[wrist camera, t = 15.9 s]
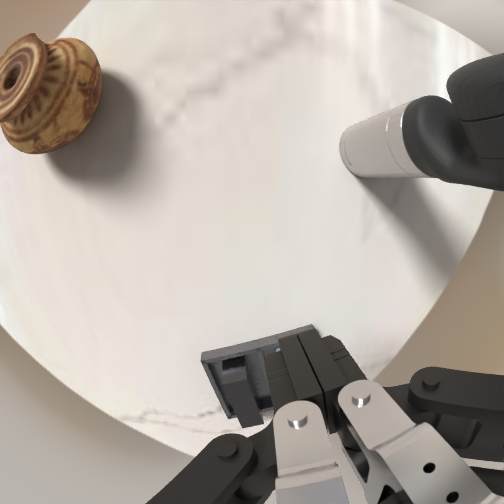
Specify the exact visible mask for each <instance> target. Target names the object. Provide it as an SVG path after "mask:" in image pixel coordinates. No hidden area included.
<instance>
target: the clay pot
mask: <svg viewBox="0 0 504 504" xmlns="http://www.w3.org/2000/svg"><path fill="white" fill-rule="evenodd" d="M101 92H102V74H101V68H100V65H99V62H98V60H97V57H96V55H95V53H94V52H93V50H92V49H91V48H90V47H89V46H88V45H87V44H86V43H84V42H83V41H81V40H79V39H75V38H59V39H55V40H52V41H50V42H47V43H44V42H42V41H41V40H40V39H39V38H38V37H37V36H36V34H34V33H30V34H28V35H26V36H24V37H22V38H20V39H19V40H17V41H16V42H15V43H13V44H12V45H11V46H10V47H9V48H8V49H7V51H6V52H5V53H4V54H3V56H2V57H1V58H0V123H1V128H2V131H3V134H4V136H5V138H6V139H7V141H8V142H9V143H10V144H11V145H12V146H13V147H14V148H16V149H18V150H19V151H21V152H24V153H28V154H42V153H47V152H51V151H54V150H56V149H58V148H60V147H62V146H64V145H66V144H68V143H69V142H70V141H72V140H73V139H74V138H76V137H77V136H78V135H79V134H80V133H81V132H82V131H83V130H84V128H85V127H86V126H87V124H88V123H89V122H90V120H91V119H92V117H93V115H94V113H95V111H96V109H97V106H98V103H99V101H100V97H101Z"/></svg>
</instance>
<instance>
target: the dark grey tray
mask: <svg viewBox="0 0 504 504" xmlns="http://www.w3.org/2000/svg"><path fill="white" fill-rule="evenodd" d="M311 328H314V327H313V325H312V324H310V325H307V326H304V327H300V328H297V329H294V330H290V331H287V332H283V333H280V334H276V335H273V336H269V337H265V338H261V339H257V340H254V341H250V342H246V343H242V344H237V345H233V346H229V347H225V348H220V349H216V350H211V351H206V352H202V355H201V363H202V365H203V367H204V369H205V372H206V374H207V376H208V378H209V380H210V383H211V385H212V387H213V389H214V391H215V393H216V395H217V397H218V399H219V401H220V404H221V406H222V408H223V410H224V412H225V414H226V416H227V418H228V419H231V418H236V417H237V418H238V420H239V422H240V424H241V426H242V428H246V427H251V426H256V425H261V424H264V421H263V415H262V412H265V411H269V410H273V409H274V408H273V403H272V398H271V394H270V389H269V385H268V380H267V376H266V371H265V366H264V362H265V359H266V357H267V354H270V353H273V352H276V348H275V347H278V346H279V344H278V340H277V338H281V337H284V336H288V335H291V334H296V333H298V332H301V331H304V330H308V329H311Z"/></svg>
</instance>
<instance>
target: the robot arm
mask: <svg viewBox="0 0 504 504" xmlns="http://www.w3.org/2000/svg"><path fill="white" fill-rule="evenodd" d="M446 87H447V91H448V94H449V97H450V99H451V102H452V103H450V102H449V101H447V100H446V99H444V98H442V97H439V96H424V97H421V98H419V99H416V100H413V101H411V102H408V103H405V104H403V105H401V106H398V107H396V108H393V109H391V110H388V111H386V112H383V113H381V114H378V115H376V116H374V117H371V118H369V119H366V120H364V121H362V122H359V123H357V124H355V125H352V126H350V127H349V128H348V129H347V130H346V131H345V132H344V133H343V135H342V137H341V141H340V154H341V157H342V160H343V162H344V164H345V166H346V167H347V168H348V169H349V170H350V171H351V172H352V173H353V174H355V175H357V176H359V177H363V178H439V179H440V180H442V181H445V182H448V183H456V184H464V185H471V186H476V187H482V188H487V189H492V190H499V191H504V53H502V54H498V55H494V56H490V57H486V58H483V59H479V60H476V61H474V62H471V63H469V64H467V65H465V66H463V67H461V68H459V69H458V70H456V71H455V72H453V73H452V74H451V75H450V77H449V78H448V81H447V84H446ZM277 340H278V344H279V348H280V351H277V352H273V353H270V354H267V357H266V359H265V362H264V366H265V371H266V376H267V380H268V385H269V389H270V394H271V398H272V403H273V408H274V416H273V419H272V421H271V422H270V424H269V425H268V426H267V427H266V428H265V429H263V430H262V431H260V432H258V433H256V434H254V435H252V436H250V437H248V438H247V437H245V436H243V435H240V434H231V433H230V434H224V435H221V436H218V437H217V438H215V439H213V440H212V441H211V442H210V443H209V444H208V445H207V446H206V447H205V448H204V449H203V450H202V451H201V452H200V453H199V454H198V455H197V456H196V457H195V458H194V459H193V460H192V461H191V462H190V463H189V464H188V465H187V466H186V467H185V468H184V469H183V470H182V471H181V472H180V473H179V474H178V475H177V476H176V477H175V478H174V479H173V480H172V481H170V482H169V483H168V484H167V485H166V486H165V487H164V488H163V489H162V490H161V491H160V492H158V493H157V494H156V495H155V496H154V497H153V498H152V499H151V500H149V501H148V502H147V503H146V504H264V503H265V501H266V500H267V499H268V497H269V496H270V495H271V493H272V491H273V490H275V489H276V499H277V504H349V501H348V497H347V493H346V490H345V486H344V482H343V479H342V475H341V472H340V469H339V466H338V464H336V461H335V458H334V455H333V451H332V448H331V444H330V441H329V437H328V431H329V434H332V433H336V432H337V433H338V435H339V437H340V439H341V448H342V451H343V452H344V454H345V456H346V458H347V460H348V461H349V463H350V465H351V467H352V469H353V470H354V472H355V474H356V475H357V478H358V479H359V481H360V483H361V485H362V487H363V489H364V492H365V497H366V500H367V502H368V504H504V470H495V469H487V468H481V467H474V466H468V465H467V464H466V463H465V462H464V461H463V460H462V459H461V457H463V458H469V459H476V460H485V461H494V462H504V376H503V375H493V374H484V373H475V372H467V371H460V370H453V369H446V368H440V367H426V368H423V369H421V370H419V371H417V372H416V373H415V374H414V375H413V376H412V378H411V380H410V383H409V384H404V385H399V386H394V387H382V386H381V385H379V384H378V383H377V382H374V381H371V380H368V379H367V378H366V376H365V375H364V374H363V372H362V371H361V369H360V368H359V366H358V365H357V363H356V362H355V361H354V359H353V358H352V356H350V354H349V352H348V351H347V349H346V348H345V346H344V345H343V344H342V342H341V341H340V340H339V339H337V338H335V337H333V336H331V335H329V336H326V337H323V338H321V337H320V336H319V334H318V332H317V331H316V329H315V328H311V329H308V330H304V331H301V332H298V333H296V334H291V335H288V336H284V337H281V338H277ZM327 429H328V431H327Z"/></svg>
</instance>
